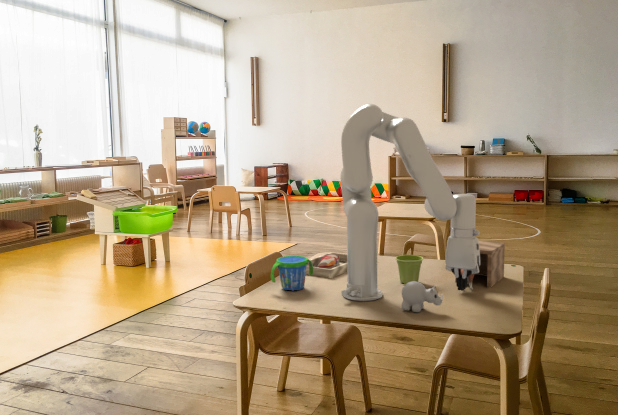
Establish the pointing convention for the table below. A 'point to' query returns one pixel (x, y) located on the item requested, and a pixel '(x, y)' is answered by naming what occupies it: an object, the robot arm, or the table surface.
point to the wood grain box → (491, 261)
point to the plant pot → (409, 267)
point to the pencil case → (329, 261)
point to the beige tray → (328, 272)
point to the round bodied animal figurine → (418, 296)
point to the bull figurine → (469, 279)
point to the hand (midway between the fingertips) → (461, 289)
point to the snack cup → (292, 271)
